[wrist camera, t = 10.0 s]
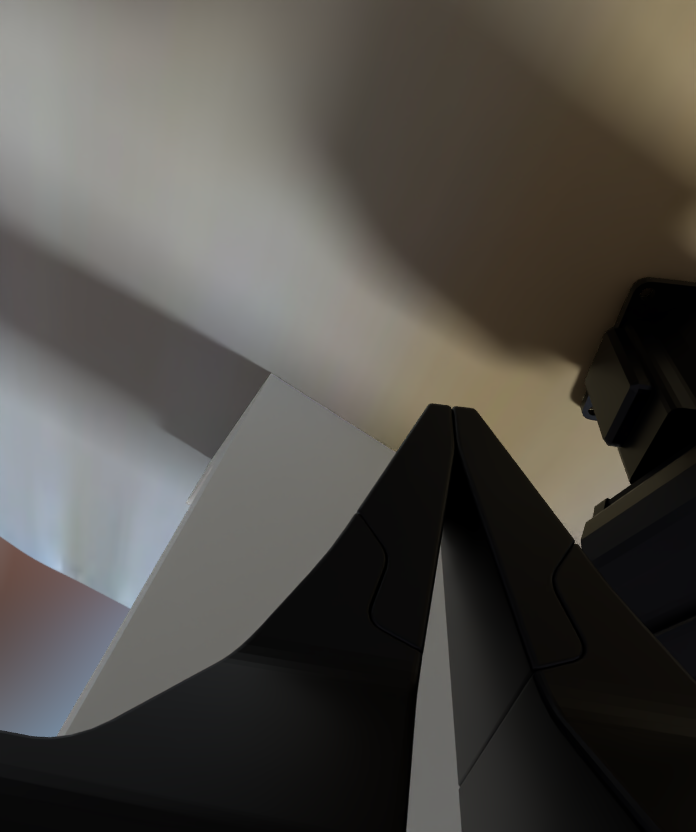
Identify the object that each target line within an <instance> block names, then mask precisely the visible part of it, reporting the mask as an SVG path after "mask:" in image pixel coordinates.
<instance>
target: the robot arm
mask: <svg viewBox="0 0 696 832" xmlns="http://www.w3.org/2000/svg"><path fill="white" fill-rule="evenodd" d="M646 288H652V291H651V293H650V294H649V295H647V296H640V293H641V292H642V291H643V290H645V289H646ZM585 385H586V388H587V391H586V394H585V396H584V398H583V401H582V403H581V411H582V414H583V416H584V417H585V418H586V419H590V420H595V421H597V422H598V425H599V428H600V431H601V434H602V437H603V440H604V441H605V442H606V444H607V445H608V446H614V447H617V448H618V451H619V454H620V456H621V459H622V462H623V465H624V468H625V471H626V474H627V476H628V479H629V482H630V484H631V485H630V486H628V487H627V488H626V489H624V490H623V491H621V492H620V493H618V494H617V495H616V496H614V497H613V498H611V499H608V498H607V499H605V500H603V501H602V502H601V503H599V504H598V505H596V506H595V508H594V514H593V518H592V519H590V520H589V521H588V522H586V524H585V527H584V531H583V534H582V537H581V547H582V549H581V548H580V546H579V545H578V544H574V543H575V540H574V539H573V537H572V536H571V535H570V533H569V532H568V531H567V530H566V528H565V527H564V526H563V524H562V523H561V522H560V520H559V519H558V518H557V516H556V515H555V514H554V512H553V511H552V510H551V508H550V507H549V506H548V504H547V503H546V502H545V500H544V499H543V498H542V496H541V495H540V494H539V493H538V491H537V490H536V489H535V487H534V486H533V485H532V483H531V482H530V481H529V479H528V478H527V477H526V475H525V474H524V473H523V471H522V470H521V469H520V467H519V466H518V465H517V463H516V462H515V461H514V460H513V458H512V457H511V456H510V454H509V453H508V452H507V450H506V449H505V448H504V446H503V445H502V444H501V442H500V441H499V440H498V438H497V437H496V436H495V434H494V433H493V432H492V430H491V429H490V428H489V426H488V425H487V424H486V423H485V421H484V420H483V419H482V417H481V416H480V415H479V413H478V412H477V411H476V410H475V409H473V408H467V407H458V406H455V407H453V408H452V409H451V407H450V406H448V405H441V404H433V403H432V404H429V405H428V406H427V407H426V409H425V410H424V412H423V413H422V415H421V416H420V418H419V419H418V421H417V422H416V424H415V425H414V427H413V428H412V430H411V431H410V433H409V434H408V436H407V437H406V439H405V440H404V442H403V443H402V445H401V446H400V448H399V449H398V451H397V452H396V453H395V455H394V456H393V458H392V459H391V461H390V462H389V464H388V465H387V467H386V468H385V470H384V471H383V473H382V474H381V476H380V477H379V479H378V480H377V482H376V483H375V485H374V486H373V488H372V489H371V491H370V492H369V494H368V495H367V497H366V498H365V500H364V501H363V503H362V504H361V505H360V507H359V508H358V510H357V513H355V514H354V515H353V517H352V518H351V520H350V521H349V523H348V524H347V526H346V527H345V529H344V530H343V531H342V533H341V534H340V536H339V537H338V538H337V540H336V541H335V542H334V544H333V545H332V546H331V548H330V549H329V550H328V552H327V553H326V554H325V555H324V556H323V557H322V559H321V560H320V561H319V562H318V563H317V564H316V566H315V567H314V568H313V569H312V570H311V571H310V573H309V574H308V575H307V576H306V577H305V578H304V579H303V580H302V581H301V582H300V583H299V585H298V586H297V587H296V588H295V589H294V590H293V591H292V592H291V593H290V594H289V595H288V597H287V598H286V599H285V600H284V601H283V602H282V603H281V604H280V605H279V606H278V607H277V609H276V610H275V611H274V612H273V613H272V614H271V615H270V616H269V617H268V618H267V619H266V621H265V622H264V623H263V624H262V625H261V626H260V627H259V628H258V629H257V630H256V631H255V632H254V633H253V634H252V635H251V636H250V637H249V638H248V639H247V640H246V641H245V642H244V643H243V644H242V645H241V646H239V647H238V648H237V649H236V650H234V651H233V652H232V653H231V654H229V655H228V656H226V657H225V658H223V659H222V660H220V661H218V662H217V663H215V664H213V665H211V666H209V667H207V668H205V669H204V670H202V671H200V672H198V673H196V674H194V675H193V676H191V677H189V678H187V679H185V680H183V681H182V682H180V683H178V684H176V685H174V686H172V687H170V688H169V689H167V690H165V691H163V692H161V693H159V694H158V695H156V696H154V697H152V698H150V699H148V700H146V701H145V702H143V703H141V704H139V705H137V706H135V707H134V708H132V709H130V710H128V711H126V712H124V713H123V714H121V715H119V716H117V717H115V718H113V719H111V720H109V721H107V722H105V723H103V724H101V725H98V726H96V727H94V728H92V729H88V730H85V731H81V732H78V733H75V734H71V735H64V736H57V737H35V736H28V735H23V734H18V733H12V732H7V731H2V730H0V832H406V829H407V816H408V804H409V791H410V779H411V766H412V753H413V741H414V728H415V715H416V703H417V694H418V686H419V678H420V672H421V665H422V656H423V652H424V646H425V640H426V633H427V627H428V621H429V614H430V608H431V602H432V596H433V589H434V583H435V577H436V570H437V564H438V558H439V552H440V545H441V556H442V569H443V583H444V597H445V610H446V624H447V638H448V651H449V665H450V678H451V692H452V706H453V719H454V733H455V747H456V760H457V774H458V785H459V786H460V788H459V803H460V817H461V830H462V832H696V282H687V281H678V280H669V279H660V278H651V277H649V278H643V279H640V280H638V281H637V282H635V283H634V284H633V286H632V287H631V289H630V291H629V293H628V296H627V298H626V300H625V303H624V305H623V307H622V310H621V312H620V314H619V317H618V319H617V321H616V324H615V326H614V327H612V328H611V329H609V330H608V331H606V332H605V334H604V336H603V339H602V341H601V343H600V346H599V348H598V350H597V353H596V355H595V358H594V360H593V362H592V365H591V367H590V370H589V372H588V374H587V377H586V379H585ZM591 407H593V409H594V410H589V409H590V408H591Z"/></svg>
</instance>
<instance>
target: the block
mask: <svg viewBox="0 0 696 832" xmlns="http://www.w3.org/2000/svg"><path fill="white" fill-rule="evenodd" d="M395 453H396V452H395V451H393V450H392V449H390V448H388V447H387V446H385V445H384V444H382V443H381V442H379V441H377V440H376V439H374V438H373V437H371V436H370V435H368V434H366V433H365V432H363V431H362V430H360V429H359V428H357V427H355V426H354V425H352V424H351V423H349V422H348V421H346V420H345V419H343V418H341V417H340V416H338V415H337V414H335V413H334V412H332V411H330V410H329V409H327V408H326V407H324V406H323V405H321V404H319V403H318V402H316V401H315V400H313V399H312V398H310V397H308V396H307V395H305V394H304V393H302V392H301V391H299V390H297V389H296V388H294V387H293V386H291V385H290V384H288V383H286V382H285V381H283V380H282V379H280V378H279V377H277V376H275V375H274V374H272V373H271V374H270V375H269V377H268V378H267V379H266V381H265V382H264V384H263V385H262V387H261V388H260V390H259V391H258V393H257V394H256V395H255V397H254V398H253V400H252V401H251V403H250V404H249V406H248V407H247V409H246V410H245V411H244V413H243V414H242V416H241V417H240V419H239V420H238V422H237V423H236V425H235V426H234V427H233V429H232V430H231V432H230V433H229V435H228V436H227V438H226V439H225V441H224V442H223V444H222V445H221V446H220V448H219V449H218V451H217V452H216V454H215V455H214V457H213V458H212V460H211V461H210V463H209V465H208V466H207V468H206V470H205V472H204V473H203V475H202V476H201V478H200V480H199V481H198V483H197V485H196V487H195V489H194V490H193V492H192V493H191V495H190V497H189V498H188V500H187V502H186V503H187V504H189V505H191V506H190V507H189V509H188V511H187V512H186V514H185V516H184V518H183V519H182V521H181V523H180V525H179V526H178V528H177V530H176V531H175V533H174V535H173V537H172V538H171V540H170V542H169V543H168V545H167V547H166V549H165V550H164V552H163V554H162V556H161V557H160V559H159V561H158V562H157V564H156V566H155V568H154V569H153V571H152V573H151V575H150V576H149V578H148V580H147V581H146V583H145V585H144V587H143V588H142V590H141V592H140V593H139V595H138V597H137V599H136V600H135V602H134V604H133V606H132V607H131V609H130V611H129V613H128V614H127V616H126V618H125V619H124V621H123V623H122V625H121V626H120V628H119V630H118V631H117V633H116V635H115V637H114V638H113V640H112V642H111V644H110V645H109V647H108V649H107V650H106V652H105V654H104V656H103V657H102V659H101V661H100V662H99V664H98V666H97V668H96V670H95V671H94V673H93V675H92V676H91V678H90V680H89V681H88V683H87V685H86V687H85V688H84V690H83V692H82V694H81V695H80V697H79V699H78V700H77V702H76V704H75V706H74V707H73V709H72V711H71V713H70V714H69V716H68V718H67V720H66V721H65V723H64V725H63V726H62V728H61V730H60V732H59V733H58V735H57V736H64V735H71V734H75V733H78V732H81V731H85V730H88V729H92V728H94V727H96V726H98V725H101V724H103V723H105V722H107V721H109V720H111V719H113V718H115V717H117V716H119V715H121V714H123V713H124V712H126V711H128V710H130V709H132V708H134V707H135V706H137V705H139V704H141V703H143V702H145V701H146V700H148V699H150V698H152V697H154V696H156V695H158V694H159V693H161V692H163V691H165V690H167V689H169V688H170V687H172V686H174V685H176V684H178V683H180V682H182V681H183V680H185V679H187V678H189V677H191V676H193V675H194V674H196V673H198V672H200V671H202V670H204V669H205V668H207V667H209V666H211V665H213V664H215V663H217V662H218V661H220V660H222V659H223V658H225V657H226V656H228V655H229V654H231V653H232V652H233V651H234V650H236V649H237V648H238V647H239V646H241V645H242V644H243V643H244V642H245V641H246V640H247V639H248V638H249V637H250V636H251V635H252V634H253V633H254V632H255V631H256V630H257V629H258V628H259V627H260V626H261V625H262V624H263V623H264V622H265V621H266V619H267V618H268V617H269V616H270V615H271V614H272V613H273V612H274V611H275V610H276V609H277V607H278V606H279V605H280V604H281V603H282V602H283V601H284V600H285V599H286V598H287V597H288V595H289V594H290V593H291V592H292V591H293V590H294V589H295V588H296V587H297V586H298V585H299V583H300V582H301V581H302V580H303V579H304V578H305V577H306V576H307V575H308V574H309V573H310V571H311V570H312V569H313V568H314V567H315V566H316V564H317V563H318V562H319V561H320V560H321V559H322V557H323V556H324V555H325V554H326V553H327V552H328V550H329V549H330V548H331V546H332V545H333V544H334V542H335V541H336V540H337V538H338V537H339V536H340V534H341V533H342V531H343V530H344V529H345V527H346V526H347V524H348V523H349V521H350V520H351V518H352V517H353V515H354V514H355V513H357V510H358V508H359V507H360V505H361V504H362V503H363V501H364V500H365V498H366V497H367V495H368V494H369V492H370V491H371V489H372V488H373V486H374V485H375V483H376V482H377V480H378V479H379V477H380V476H381V474H382V473H383V471H384V470H385V468H386V467H387V465H388V464H389V462H390V461H391V459H392V458H393V456H394V455H395ZM459 788H460V786H459V785H458V774H457V760H456V747H455V733H454V719H453V706H452V692H451V678H450V665H449V651H448V638H447V624H446V610H445V597H444V583H443V569H442V556H441V545H440V552H439V558H438V564H437V570H436V577H435V583H434V589H433V596H432V602H431V608H430V614H429V621H428V627H427V633H426V640H425V646H424V652H423V656H422V665H421V672H420V678H419V686H418V694H417V703H416V715H415V728H414V741H413V753H412V766H411V779H410V791H409V804H408V816H407V829H406V832H462V830H461V817H460V803H459Z"/></svg>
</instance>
